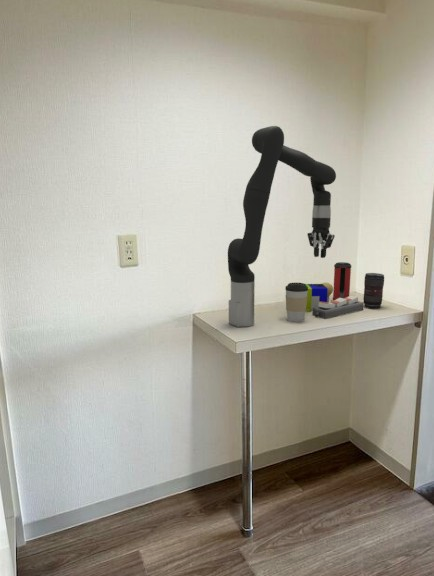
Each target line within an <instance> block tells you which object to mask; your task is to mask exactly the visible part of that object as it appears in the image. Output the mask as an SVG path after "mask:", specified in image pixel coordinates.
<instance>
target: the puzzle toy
mask: <svg viewBox="0 0 434 576" xmlns="http://www.w3.org/2000/svg"><path fill="white" fill-rule="evenodd" d="M305 284H306V286H307V287H308V292H307V304H306V310H305V312H313V308H314V307H318V305H319V302H320V301H321V302H327V291H328V289H327V288H326V287H325V286H324V285H323V284H322V283H305Z"/></svg>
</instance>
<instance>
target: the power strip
mask: <svg viewBox="0 0 434 576" xmlns="http://www.w3.org/2000/svg"><path fill="white" fill-rule="evenodd" d="M359 311H360V312H361V311H364V301H363V302H362V301H359V300H358V301H357V302H355V303H353V304H350V305H348V304H344V305H342V306H340V307H335V308H323V307H319V306H318V307H314V308H313V311H311V313H312V315H311V316H314V317H315V318H321V319H324V320H326V319H330V318H335V317H340V316H342V315H343V316H344V315H346V314H352V313H356V312H359ZM339 315H340V316H339Z"/></svg>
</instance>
